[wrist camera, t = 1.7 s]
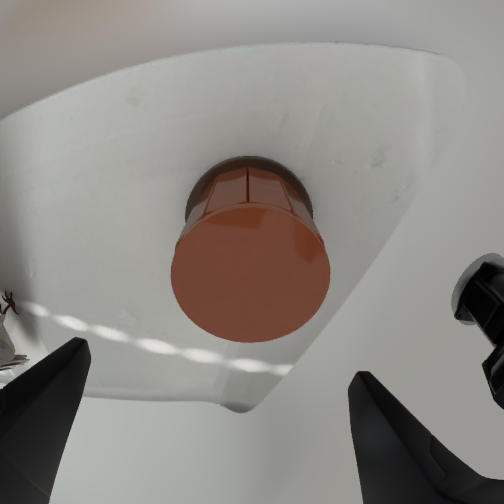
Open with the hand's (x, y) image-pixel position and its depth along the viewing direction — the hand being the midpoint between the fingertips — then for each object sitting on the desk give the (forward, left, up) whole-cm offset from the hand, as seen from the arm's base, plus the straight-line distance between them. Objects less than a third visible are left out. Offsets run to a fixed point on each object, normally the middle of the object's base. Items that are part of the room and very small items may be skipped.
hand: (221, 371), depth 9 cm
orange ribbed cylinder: (-1, -1, -12) cm, 12 cm away
